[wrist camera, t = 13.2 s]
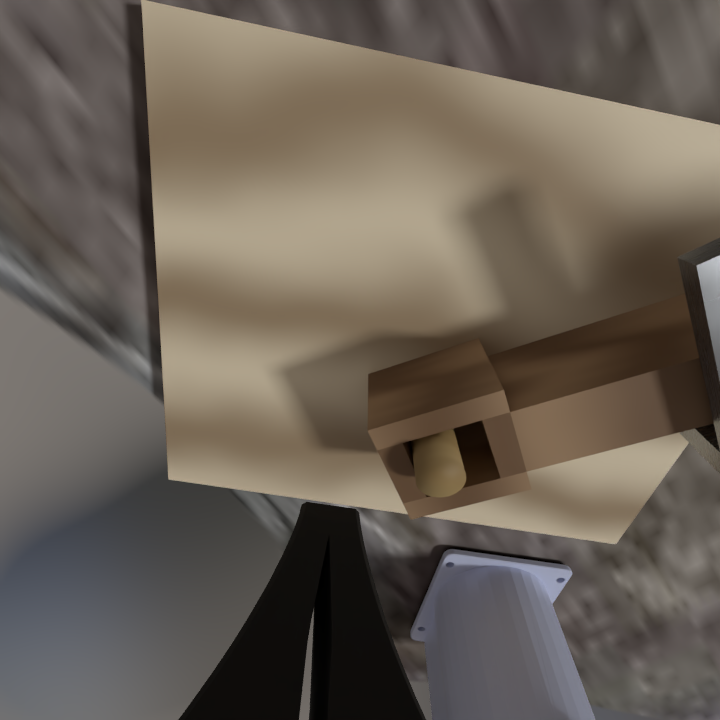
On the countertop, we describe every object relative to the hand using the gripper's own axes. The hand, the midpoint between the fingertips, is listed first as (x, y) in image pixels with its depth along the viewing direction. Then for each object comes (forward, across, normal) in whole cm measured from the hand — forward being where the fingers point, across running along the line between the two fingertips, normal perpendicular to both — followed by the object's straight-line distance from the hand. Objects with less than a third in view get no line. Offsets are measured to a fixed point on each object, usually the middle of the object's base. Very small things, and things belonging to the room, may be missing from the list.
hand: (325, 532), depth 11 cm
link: (+9, -9, -1) cm, 13 cm away
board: (+10, -4, -1) cm, 11 cm away
